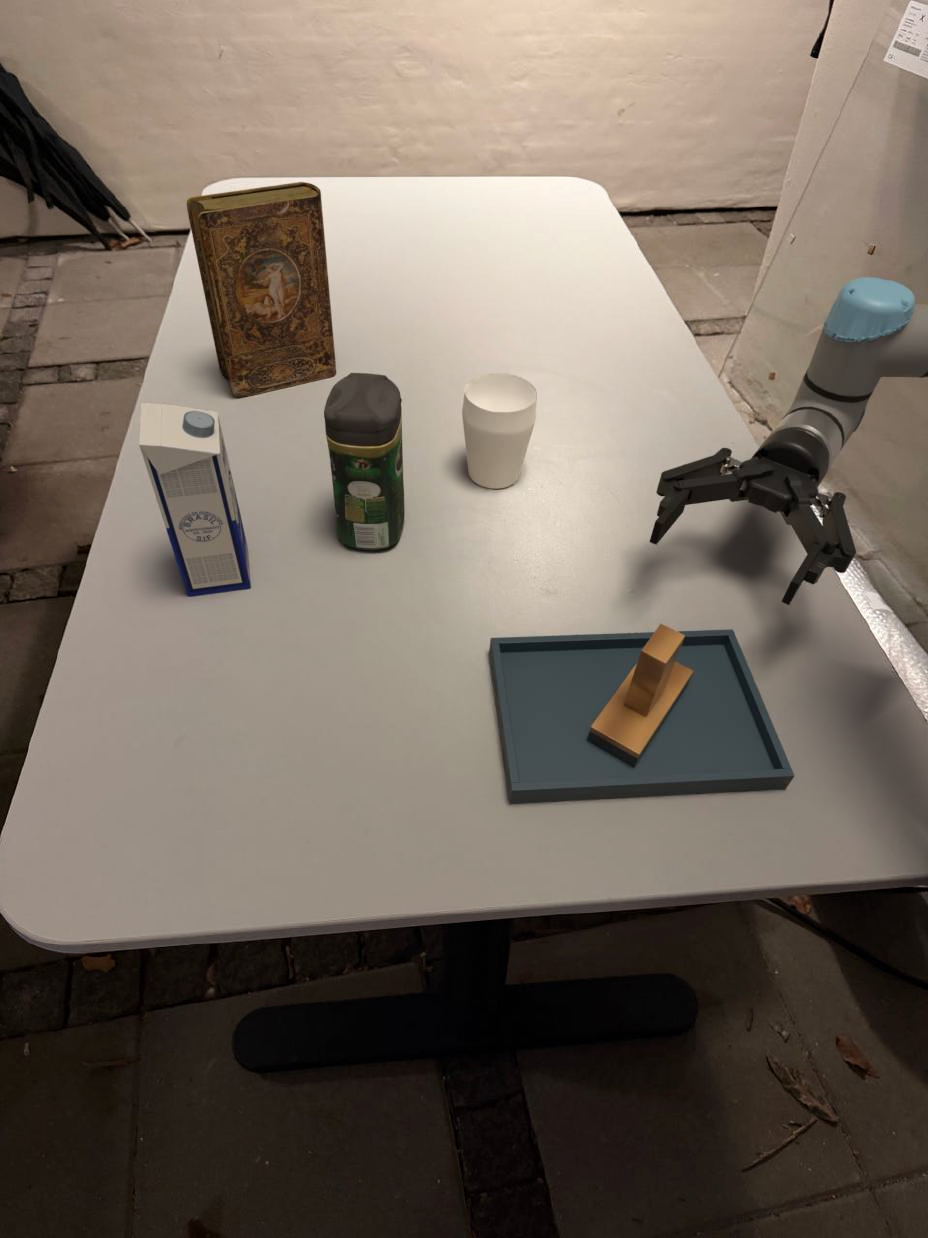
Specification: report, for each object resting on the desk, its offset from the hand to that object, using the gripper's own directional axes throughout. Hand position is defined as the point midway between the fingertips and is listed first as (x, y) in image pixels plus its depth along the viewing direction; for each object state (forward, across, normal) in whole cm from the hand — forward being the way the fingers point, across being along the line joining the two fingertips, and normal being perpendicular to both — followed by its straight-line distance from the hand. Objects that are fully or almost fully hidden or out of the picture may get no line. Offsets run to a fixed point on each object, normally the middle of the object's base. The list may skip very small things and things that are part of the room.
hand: (720, 562), depth 73 cm
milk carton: (+22, +47, -12) cm, 54 cm away
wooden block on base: (+12, 0, -11) cm, 16 cm away
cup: (-12, +33, -12) cm, 37 cm away
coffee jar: (+6, +39, -12) cm, 41 cm away
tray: (+12, +1, -12) cm, 17 cm away
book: (-12, +70, -12) cm, 72 cm away
